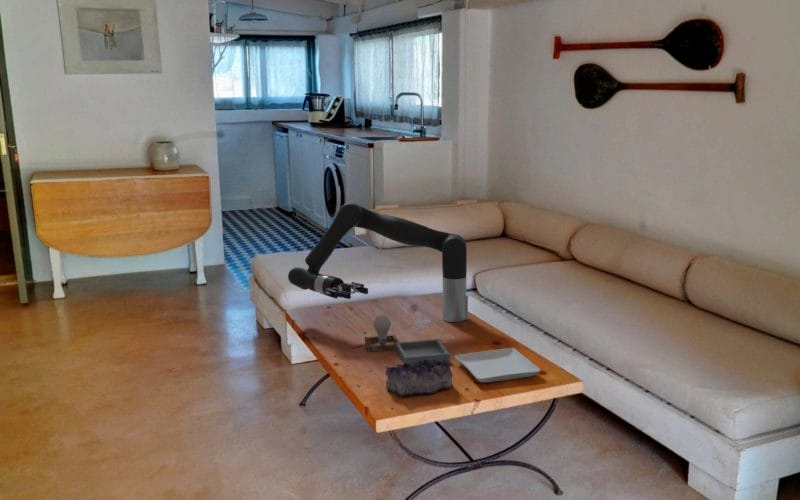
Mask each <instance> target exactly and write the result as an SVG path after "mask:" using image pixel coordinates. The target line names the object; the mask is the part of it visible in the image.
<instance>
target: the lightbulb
mask: <svg viewBox="0 0 800 500" xmlns="http://www.w3.org/2000/svg"><path fill="white" fill-rule="evenodd" d="M372 324H373V328H374V330H375V332H376V334H377V335H376V336H378V339H379V342H378V345H387V341H386V338H387V335H388V332H389V330H390V329H391V325H392V322H391V320H390V318H389V317H388V316H387V315H383V314H381V315H378V316H377V317H375V318H374V320H373V323H372Z"/></svg>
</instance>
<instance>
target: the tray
mask: <svg viewBox="0 0 800 500" xmlns="http://www.w3.org/2000/svg"><path fill="white" fill-rule="evenodd" d="M395 352H396V353H397V355H398V357H399V359H400V361H401V363H402V365H404V364H405V363H406V364H412V363H416V362H418V361H421V362H423V361H424V360H428V361H431V362H433V360H436V361H438V362H442V363H443V362H444V361H445V360H446V361H447V362H448V363H449V364H450V363H451V361H450V360H451V359H450V357H451V354H450V352H449V351H448V349H446V347H445V346H444V345H443V343H442V342H441V341H440V339H438V338H434V339H425V340H413V341H412V340H411V341H399V342H398V343H396V350H395Z"/></svg>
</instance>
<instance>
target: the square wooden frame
mask: <svg viewBox="0 0 800 500" xmlns="http://www.w3.org/2000/svg"><path fill="white" fill-rule="evenodd" d="M389 341H390V342H391V341H392V342H393V343H392V344H385V345H380V344H378V345H372V343H377V342H378V343H379V339H378V335H373V336H370V335H369V336H365V337H364V343H365V345H366V347H367V350H368V352H369V353H376V352H385V351H386V352H387V351H389V352H390V351H396V343H398V342H400V340H399V339H398V338H397V336H396V334H387V338H386V342H389Z"/></svg>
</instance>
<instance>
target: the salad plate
mask: <svg viewBox="0 0 800 500" xmlns="http://www.w3.org/2000/svg"><path fill="white" fill-rule="evenodd" d="M454 358H455V359H456V360H457V362H458V363H460V364H461V365H462V367H465V368H466V369H467V370H468V371H469V372H470V374H471V375H473V377H474V378H475V379H476V381H477V382H479V383H495V382H502V381H509V380H517V379H524V378H528V377H529V378H530V377H532V376H533V377H534V376H535V375H537V374H539V373H540V372H541V369H540V368H539V367H538V366H537V365H536V364H534V363H533V362H531V361H530V360H529V359H528V358H527V357H525V355H523V354H522V353H521V352H519V350H517V349H516V348H515V347H509V348H500V349H499V348H498V349H491V350H484V351H476V352H469V353H464V354H462V353H461V354H456V355H455V356H454Z"/></svg>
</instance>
